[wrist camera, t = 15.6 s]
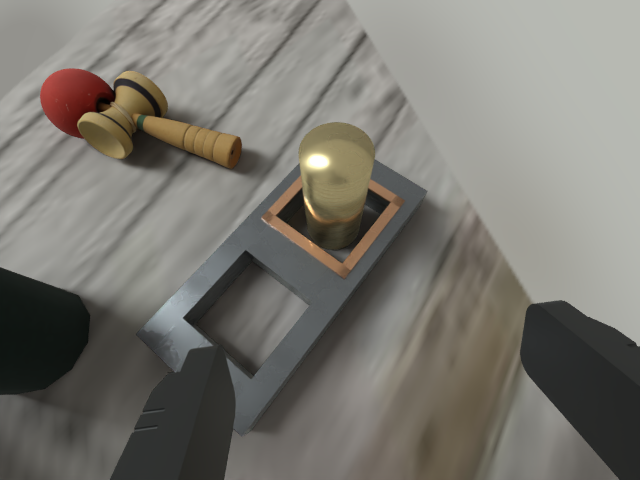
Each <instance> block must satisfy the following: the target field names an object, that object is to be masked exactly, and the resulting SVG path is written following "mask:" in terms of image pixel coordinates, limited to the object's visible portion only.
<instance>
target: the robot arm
mask: <svg viewBox="0 0 640 480" xmlns="http://www.w3.org/2000/svg"><path fill="white" fill-rule="evenodd" d="M520 356H521V361H522V364H523V367H524V369H525V371H526V373H527V374H528V375H529V377H530V378H531V379H532V380H533V381H534V382H535V384H536V385H537V386H538V387H539V388H540V389H541V390H542V392H543V393H544V394H545V395H546V396H547V397H548V398H549V400H550V401H551V402H552V403H553V404H554V405H555V406H556V408H557V409H558V410H559V411H560V412H561V413H562V414H563V416H564V417H565V418H566V419H567V420H568V421H569V422H570V424H571V425H572V426H573V427H574V428H575V429H576V430H577V432H578V433H579V434H580V435H581V436H582V437H583V438H584V440H585V441H586V442H587V443H588V444H589V445H590V446H591V448H592V449H593V450H594V451H595V452H596V453H597V454H598V455H599V457H600V458H601V459H602V460H603V461H604V462H605V463H606V465H607V466H608V467H609V468H610V469H611V470H612V471H613V473H614V474H615V475H616V476H617V477H618V478H619V479H620V480H640V347H638V346H637V345H636V343H635V342H634V341H632V340H631V339H629V338H628V337H626V336H625V335H624V334H622V333H621V332H619V331H618V330H616V329H615V328H613V327H611V326H608V325H606V324H603V323H601V322H599V321H597V320H594V319H592V318H590V317H587V316H586V315H584V314H583V313H582V312H580V311H579V310H577V309H576V308H575V307H573V306H572V305H570V304H569V303H567V302H565V301H562V300H560V301H552V302H544V303H537V304H531V305H530V306H529V307H528V308H527V311H526V317H525V323H524V330H523V336H522V343H521V349H520ZM235 411H236V399H235V391H234V387H233V383H232V379H231V375H230V371H229V367H228V363H227V359H226V355H225V352H224V349H223V347H222V346H221V345H215V346H208V347H201V348H193V349H190V350H189V351H188V353H187V356H186V358H185V361H184V363H183V366H182V368H181V370H180V372H173V373H168V375H167V376H166V377H165V378H164V379H163V380H162V381H161V382H160V383H159V384H158V385H157V386H156V387H155V389H154V390H153V391H152V393H151V395H150V397H149V399H148V401H147V403H146V405H145V407H144V409H143V415H140V418H139V420H138V422H137V424H136V426H135V428H134V429H135V431H134V433H132V434H131V436H130V438H129V441H128V443H127V445H126V447H125V449H124V451H123V453H122V455H121V457H120V459H119V461H118V463H117V466H116V468H115V470H114V472H113V474H112V476H111V478H110V480H224V476H225V470H226V465H227V459H228V453H229V448H230V442H231V436H232V431H233V425H234V419H235Z"/></svg>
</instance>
